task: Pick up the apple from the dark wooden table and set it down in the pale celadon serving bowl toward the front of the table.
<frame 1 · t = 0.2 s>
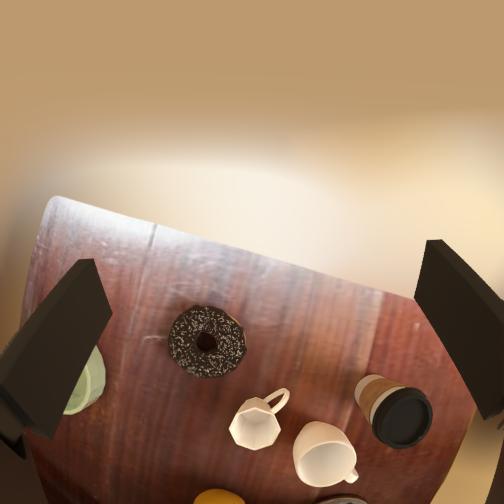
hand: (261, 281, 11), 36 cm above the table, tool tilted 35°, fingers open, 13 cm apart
donut: (209, 340, 46), on the table
serving bowl: (72, 365, 45), on the table
coffee cup: (370, 390, 44), on the table
apple: (222, 493, 42), on the table
cup: (262, 403, 44), on the table
mug: (320, 437, 43), on the table
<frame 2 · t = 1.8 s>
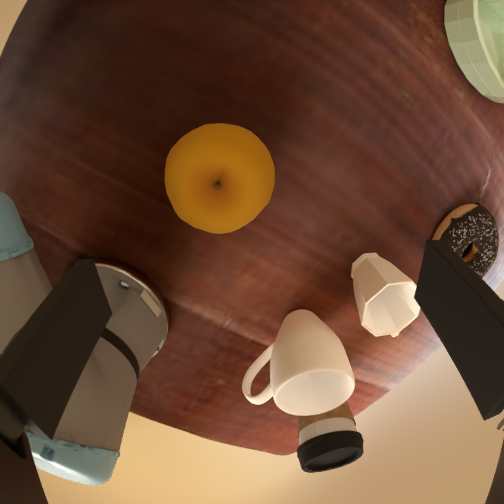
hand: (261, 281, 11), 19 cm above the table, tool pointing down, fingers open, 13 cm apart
donut: (456, 243, 33), on the table
serving bowl: (488, 43, 20), on the table
coffee cup: (314, 374, 43), on the table
apple: (222, 165, 28), on the table
cup: (369, 277, 35), on the table
mug: (286, 326, 38), on the table
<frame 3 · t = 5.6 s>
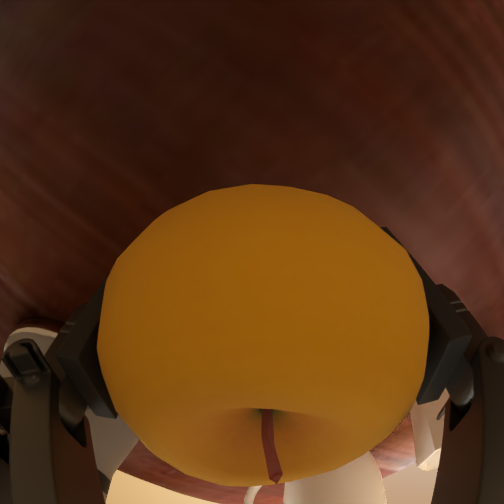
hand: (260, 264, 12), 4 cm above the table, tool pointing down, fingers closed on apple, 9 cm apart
apple: (258, 258, 13), point 3 cm above the table, touching gripper
cup: (426, 383, 23), on the table
mug: (306, 428, 25), on the table
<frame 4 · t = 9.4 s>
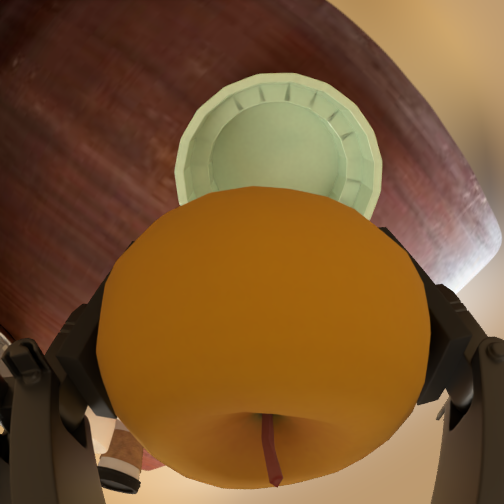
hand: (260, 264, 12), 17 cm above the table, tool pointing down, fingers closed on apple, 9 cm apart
serving bowl: (275, 163, 27), on the table
coffee cup: (131, 421, 48), on the table
apple: (258, 259, 13), point 16 cm above the table, touching gripper
mug: (95, 386, 43), on the table
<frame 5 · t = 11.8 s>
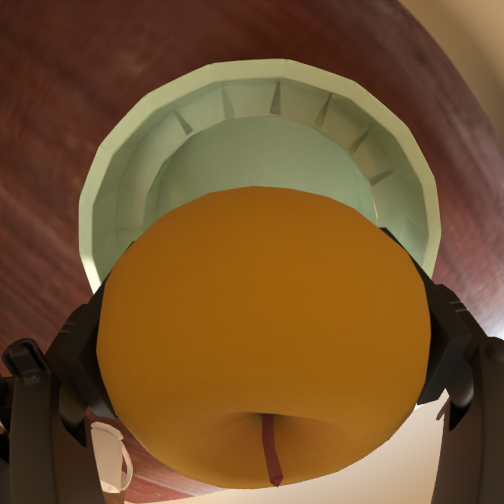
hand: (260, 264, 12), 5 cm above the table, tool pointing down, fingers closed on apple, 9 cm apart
serving bowl: (259, 214, 17), on the table
coffee cup: (111, 469, 39), on the table
apple: (258, 259, 13), point 5 cm above the table, touching gripper
cup: (114, 435, 31), on the table
when the fingers open (3 cm above the table, at t = 14.1 s): apple stays where it is, resting on serving bowl.
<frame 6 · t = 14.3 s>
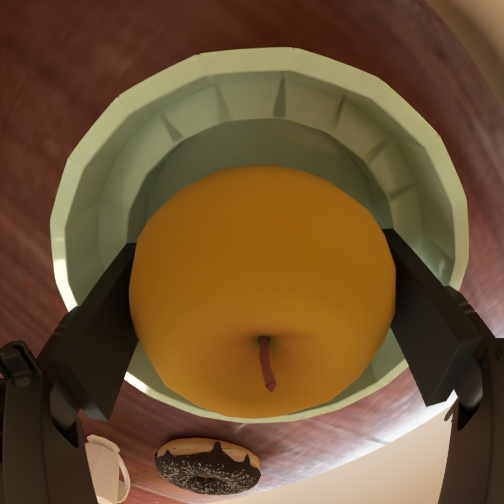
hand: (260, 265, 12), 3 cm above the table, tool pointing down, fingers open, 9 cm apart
donut: (207, 454, 28), on the table
serving bowl: (260, 230, 15), on the table
coffee cup: (109, 478, 37), on the table
apple: (258, 234, 15), resting on serving bowl
cup: (111, 447, 29), on the table
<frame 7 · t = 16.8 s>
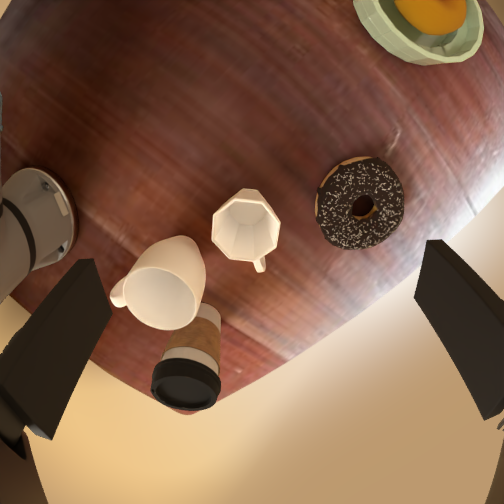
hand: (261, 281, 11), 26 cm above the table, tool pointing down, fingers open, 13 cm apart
donut: (355, 200, 36), on the table
serving bowl: (409, 10, 24), on the table
coffee cup: (201, 316, 45), on the table
apple: (409, 9, 24), resting on serving bowl
cup: (251, 215, 38), on the table
mug: (171, 252, 40), on the table
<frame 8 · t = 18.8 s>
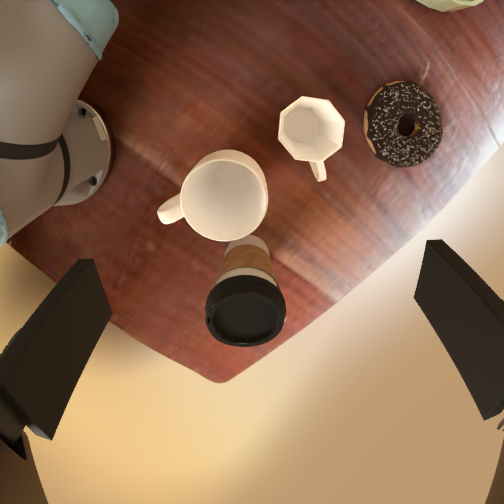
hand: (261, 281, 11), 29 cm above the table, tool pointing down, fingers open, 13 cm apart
donut: (397, 123, 34), on the table
coffee cup: (247, 252, 43), on the table
cup: (303, 135, 36), on the table
mug: (218, 178, 38), on the table
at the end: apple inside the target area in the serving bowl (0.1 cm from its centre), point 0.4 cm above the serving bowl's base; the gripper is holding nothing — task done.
